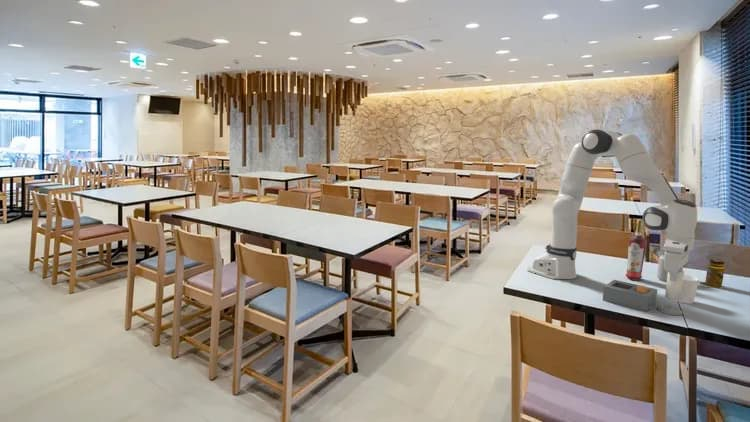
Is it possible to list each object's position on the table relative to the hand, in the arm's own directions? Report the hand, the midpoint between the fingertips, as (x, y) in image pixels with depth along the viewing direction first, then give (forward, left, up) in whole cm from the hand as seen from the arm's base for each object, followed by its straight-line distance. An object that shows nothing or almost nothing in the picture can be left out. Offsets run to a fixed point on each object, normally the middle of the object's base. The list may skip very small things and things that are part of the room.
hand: (674, 278), depth 166 cm
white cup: (+1, +17, -13) cm, 21 cm away
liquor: (-22, +33, -13) cm, 42 cm away
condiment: (+5, +49, -13) cm, 51 cm away
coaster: (0, 0, -13) cm, 13 cm away
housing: (-14, -1, -13) cm, 19 cm away
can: (-11, +43, -13) cm, 46 cm away
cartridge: (0, 0, -8) cm, 8 cm away
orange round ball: (-10, -1, -10) cm, 14 cm away
